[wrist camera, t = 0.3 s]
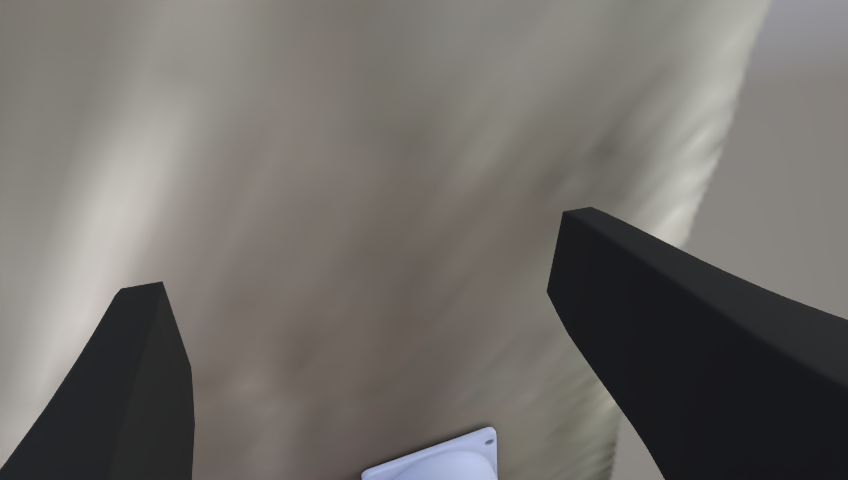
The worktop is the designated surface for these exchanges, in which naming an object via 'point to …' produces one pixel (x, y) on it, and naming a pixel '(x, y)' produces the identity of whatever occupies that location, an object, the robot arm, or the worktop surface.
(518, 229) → the worktop surface
